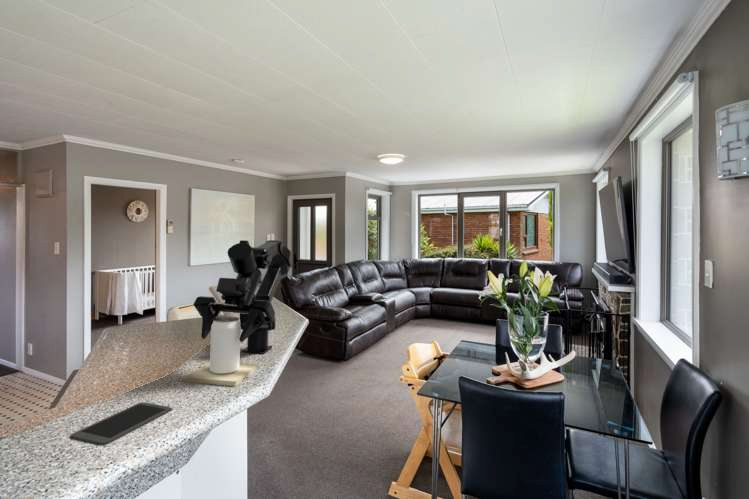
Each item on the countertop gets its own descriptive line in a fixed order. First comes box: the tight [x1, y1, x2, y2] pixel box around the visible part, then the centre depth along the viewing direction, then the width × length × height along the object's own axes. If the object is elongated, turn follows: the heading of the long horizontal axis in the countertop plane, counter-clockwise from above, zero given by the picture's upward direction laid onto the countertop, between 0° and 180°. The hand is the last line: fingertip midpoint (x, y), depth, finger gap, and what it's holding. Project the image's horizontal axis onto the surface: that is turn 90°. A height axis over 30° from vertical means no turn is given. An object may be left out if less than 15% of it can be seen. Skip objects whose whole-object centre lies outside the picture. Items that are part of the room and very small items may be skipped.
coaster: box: [183, 362, 260, 387], centre depth 92 cm, size 12×12×1 cm
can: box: [209, 316, 242, 374], centre depth 92 cm, size 6×6×12 cm
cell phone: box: [69, 402, 173, 446], centre depth 68 cm, size 7×14×1 cm, turn 164°
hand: (221, 339), depth 91 cm, fingers open, 9 cm apart
